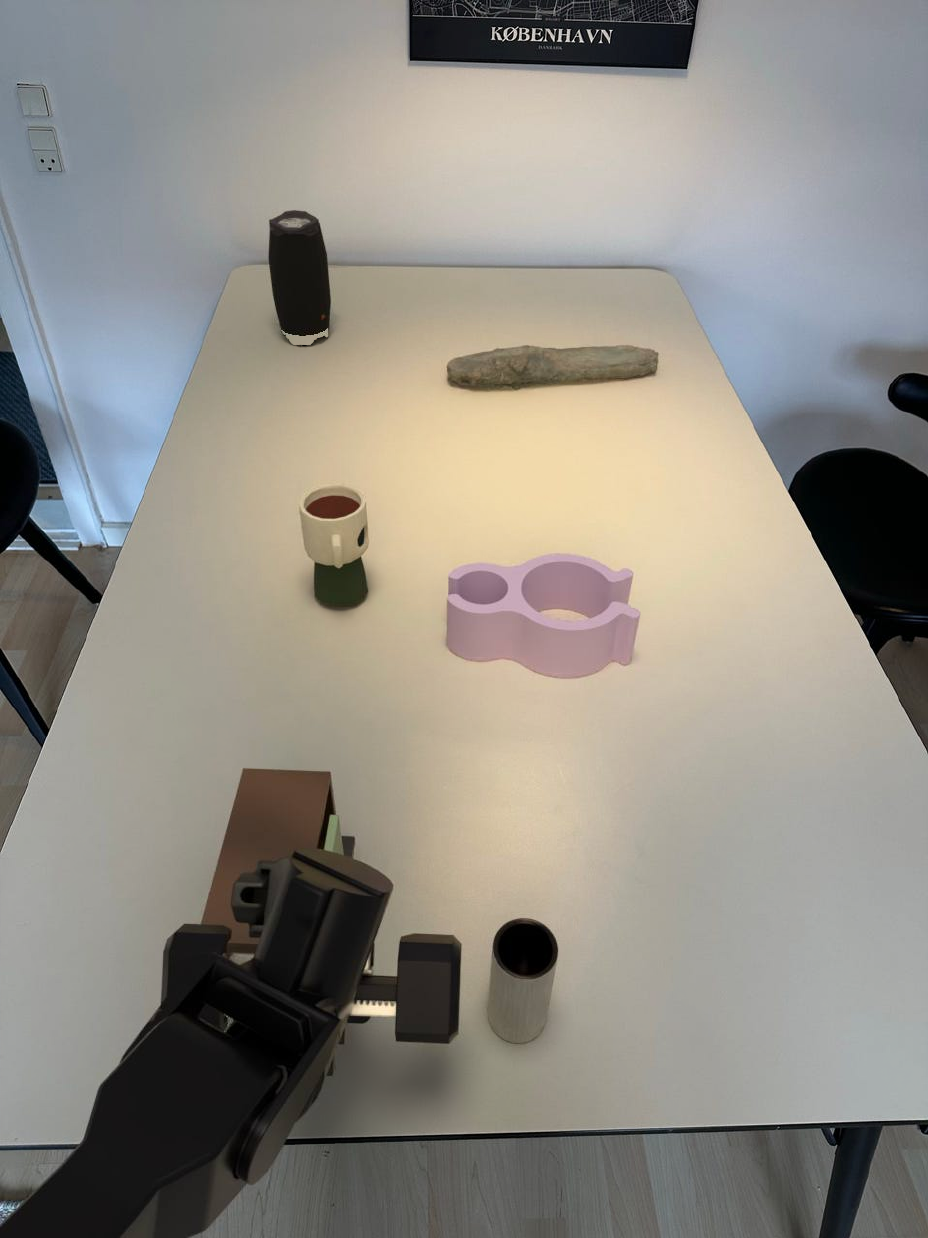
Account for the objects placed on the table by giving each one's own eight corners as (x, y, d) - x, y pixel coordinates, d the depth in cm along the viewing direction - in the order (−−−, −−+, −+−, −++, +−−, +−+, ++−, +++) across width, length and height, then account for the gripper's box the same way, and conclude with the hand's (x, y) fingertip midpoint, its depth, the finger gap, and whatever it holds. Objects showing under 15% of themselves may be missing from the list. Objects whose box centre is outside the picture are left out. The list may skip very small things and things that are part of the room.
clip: (444, 674, 95) (445, 626, 91) (449, 597, 105) (450, 549, 100) (633, 680, 95) (643, 632, 91) (622, 602, 104) (630, 555, 100)
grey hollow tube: (548, 1045, 67) (560, 980, 60) (487, 1043, 67) (493, 979, 60) (544, 985, 71) (556, 917, 64) (487, 984, 71) (492, 916, 64)
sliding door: (348, 957, 71) (340, 902, 66) (324, 956, 71) (314, 901, 66) (360, 873, 77) (353, 815, 71) (338, 872, 77) (330, 814, 71)
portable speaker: (341, 340, 154) (332, 221, 140) (291, 352, 150) (276, 232, 137) (320, 321, 159) (309, 205, 146) (270, 333, 155) (255, 214, 142)
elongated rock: (665, 389, 145) (644, 364, 153) (672, 358, 142) (650, 333, 149) (452, 395, 139) (441, 368, 146) (454, 362, 135) (442, 336, 143)
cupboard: (330, 1009, 69) (319, 947, 62) (218, 1004, 69) (195, 941, 63) (355, 839, 80) (347, 771, 74) (259, 835, 80) (243, 767, 74)
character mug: (376, 622, 101) (370, 528, 93) (312, 628, 100) (300, 534, 92) (368, 561, 109) (361, 470, 100) (308, 567, 108) (297, 475, 99)
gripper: (461, 891, 50) (467, 835, 66) (129, 877, 51) (213, 825, 66) (454, 1095, 50) (461, 989, 65) (120, 1079, 50) (206, 978, 66)
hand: (335, 941), depth 66 cm, fingers closed
